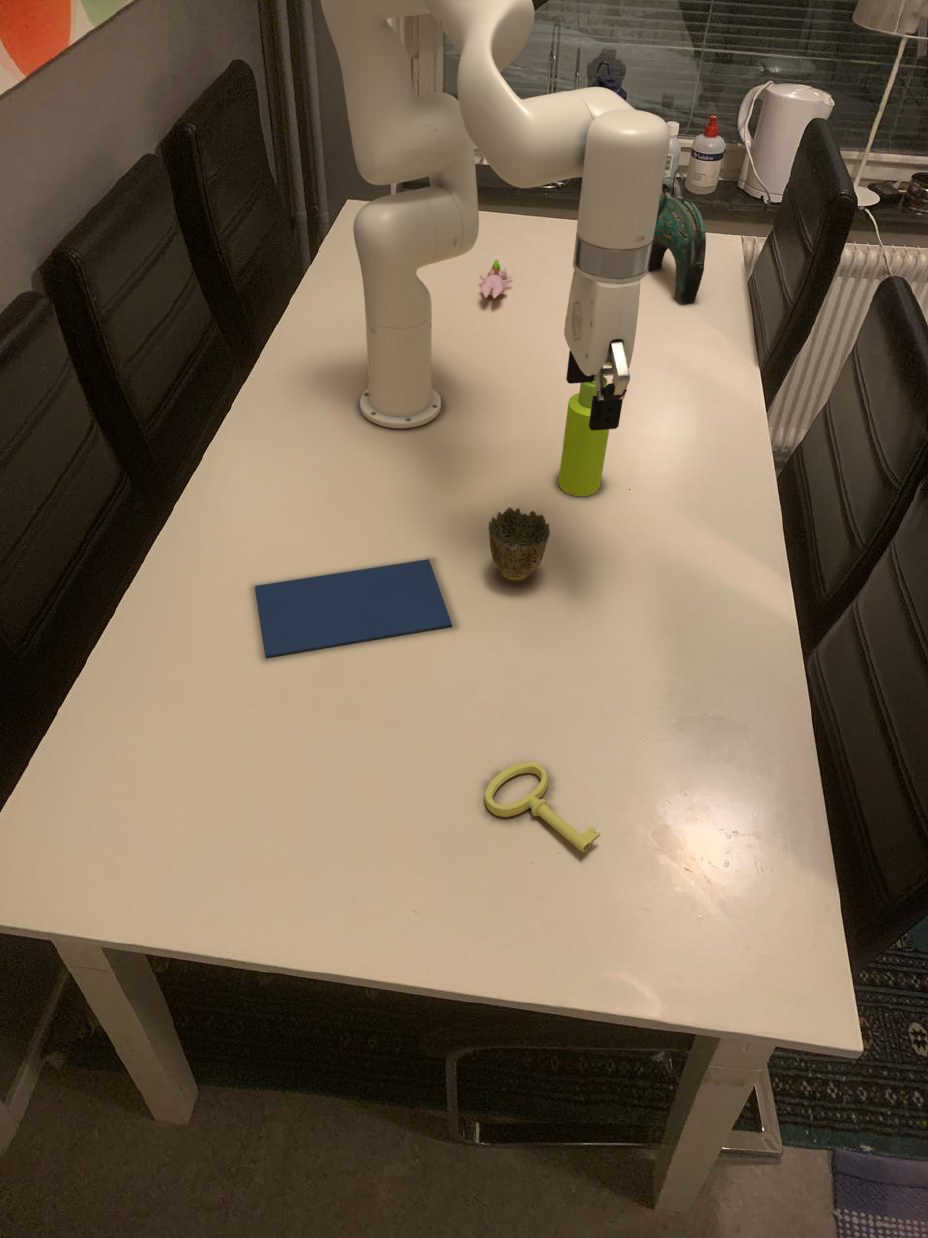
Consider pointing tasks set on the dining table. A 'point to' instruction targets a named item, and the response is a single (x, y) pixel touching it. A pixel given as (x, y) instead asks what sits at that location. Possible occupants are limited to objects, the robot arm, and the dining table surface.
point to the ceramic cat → (679, 239)
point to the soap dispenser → (582, 445)
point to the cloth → (350, 607)
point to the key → (536, 805)
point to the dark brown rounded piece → (518, 543)
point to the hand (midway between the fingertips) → (591, 404)
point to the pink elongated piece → (495, 281)
